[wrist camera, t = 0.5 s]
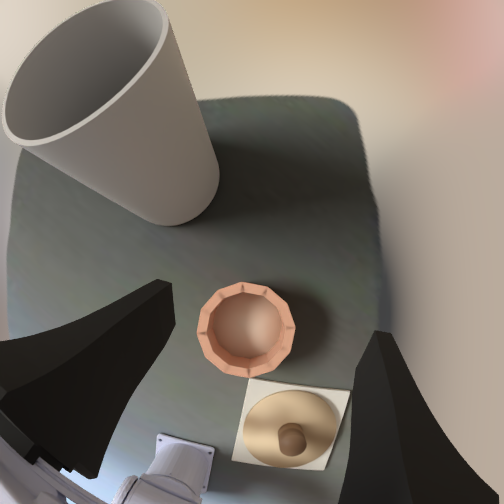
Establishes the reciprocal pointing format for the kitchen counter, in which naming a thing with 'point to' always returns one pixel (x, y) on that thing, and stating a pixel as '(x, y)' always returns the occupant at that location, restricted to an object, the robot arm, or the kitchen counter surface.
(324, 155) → the kitchen counter surface
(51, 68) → the cylinder vase
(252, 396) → the mat
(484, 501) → the robot arm
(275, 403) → the lid
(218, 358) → the bowl
